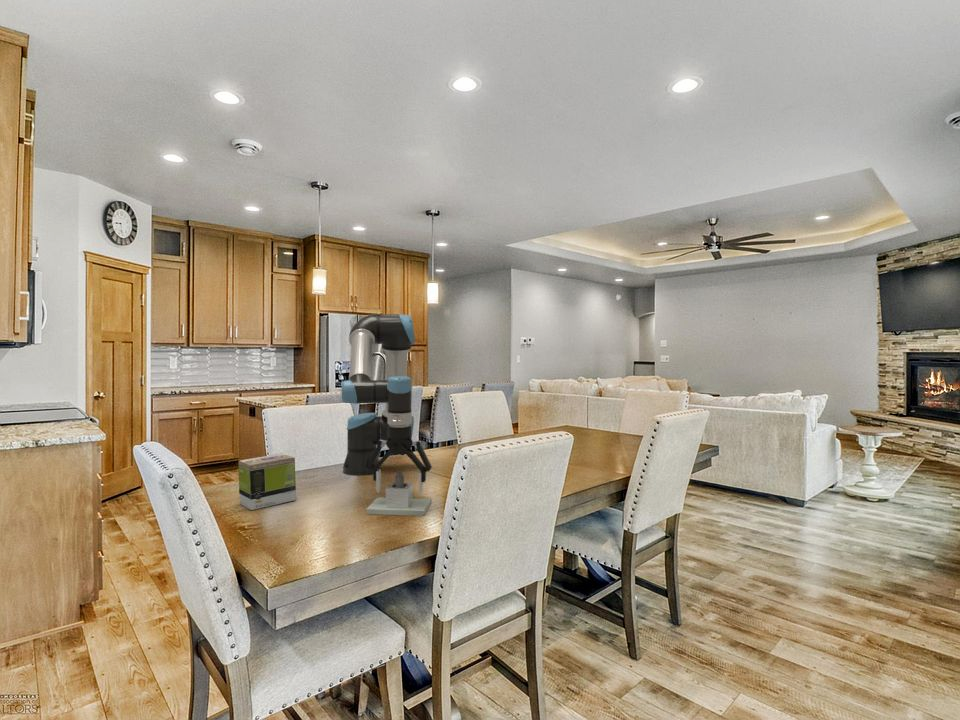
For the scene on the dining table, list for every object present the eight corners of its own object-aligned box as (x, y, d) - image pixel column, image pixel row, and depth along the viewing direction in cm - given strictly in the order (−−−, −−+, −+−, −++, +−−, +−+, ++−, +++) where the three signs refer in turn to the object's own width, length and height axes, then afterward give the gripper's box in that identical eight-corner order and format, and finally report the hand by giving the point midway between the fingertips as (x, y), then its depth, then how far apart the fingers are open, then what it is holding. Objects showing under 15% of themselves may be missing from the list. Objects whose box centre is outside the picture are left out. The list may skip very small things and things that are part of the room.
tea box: (283, 494, 180) (283, 452, 180) (296, 501, 173) (296, 457, 172) (238, 504, 170) (237, 459, 169) (250, 511, 162) (249, 464, 162)
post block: (377, 502, 172) (377, 466, 172) (430, 503, 171) (431, 468, 170) (366, 513, 160) (366, 476, 160) (423, 515, 159) (423, 477, 158)
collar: (391, 500, 169) (391, 482, 169) (412, 501, 168) (412, 482, 168) (385, 507, 162) (385, 488, 162) (407, 508, 161) (407, 488, 161)
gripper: (357, 426, 162) (357, 493, 163) (436, 428, 160) (436, 496, 161) (364, 422, 169) (364, 486, 170) (440, 424, 167) (440, 489, 168)
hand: (399, 491), depth 166 cm, fingers open, 13 cm apart
